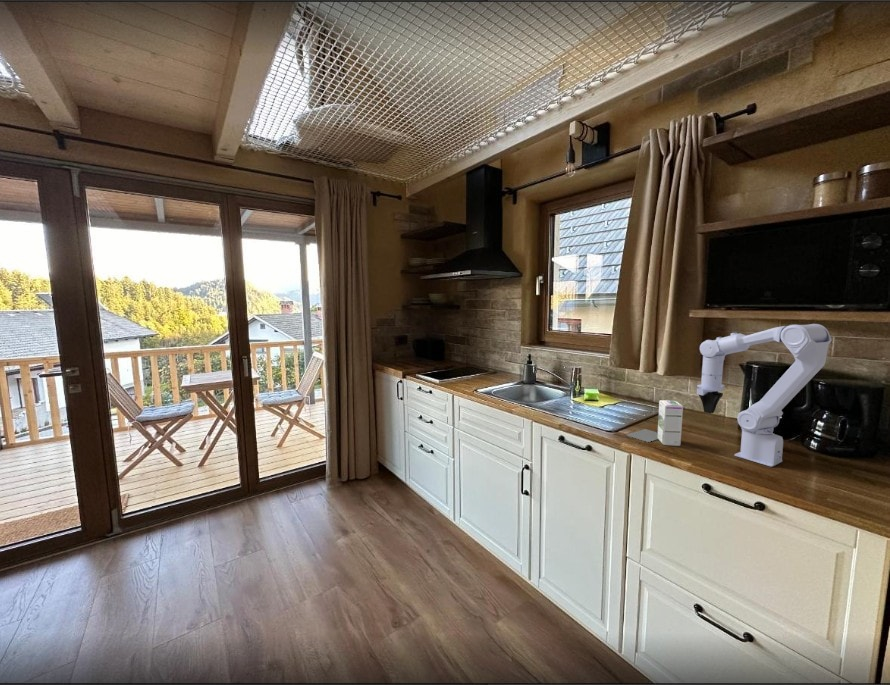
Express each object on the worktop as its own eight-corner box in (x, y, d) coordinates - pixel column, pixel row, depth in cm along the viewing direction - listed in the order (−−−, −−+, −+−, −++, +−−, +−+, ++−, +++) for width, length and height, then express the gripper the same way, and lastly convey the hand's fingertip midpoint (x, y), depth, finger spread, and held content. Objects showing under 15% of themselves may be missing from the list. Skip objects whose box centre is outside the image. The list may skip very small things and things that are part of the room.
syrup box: (681, 446, 123) (684, 405, 121) (662, 445, 124) (665, 404, 122) (674, 439, 128) (677, 400, 126) (655, 438, 130) (658, 399, 127)
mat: (667, 436, 132) (667, 435, 132) (648, 442, 126) (648, 441, 126) (645, 429, 140) (645, 428, 140) (625, 435, 134) (625, 434, 134)
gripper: (709, 370, 132) (706, 406, 133) (688, 374, 125) (685, 412, 126) (732, 373, 126) (729, 411, 127) (711, 378, 119) (708, 418, 120)
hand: (708, 412), depth 126 cm, fingers closed
